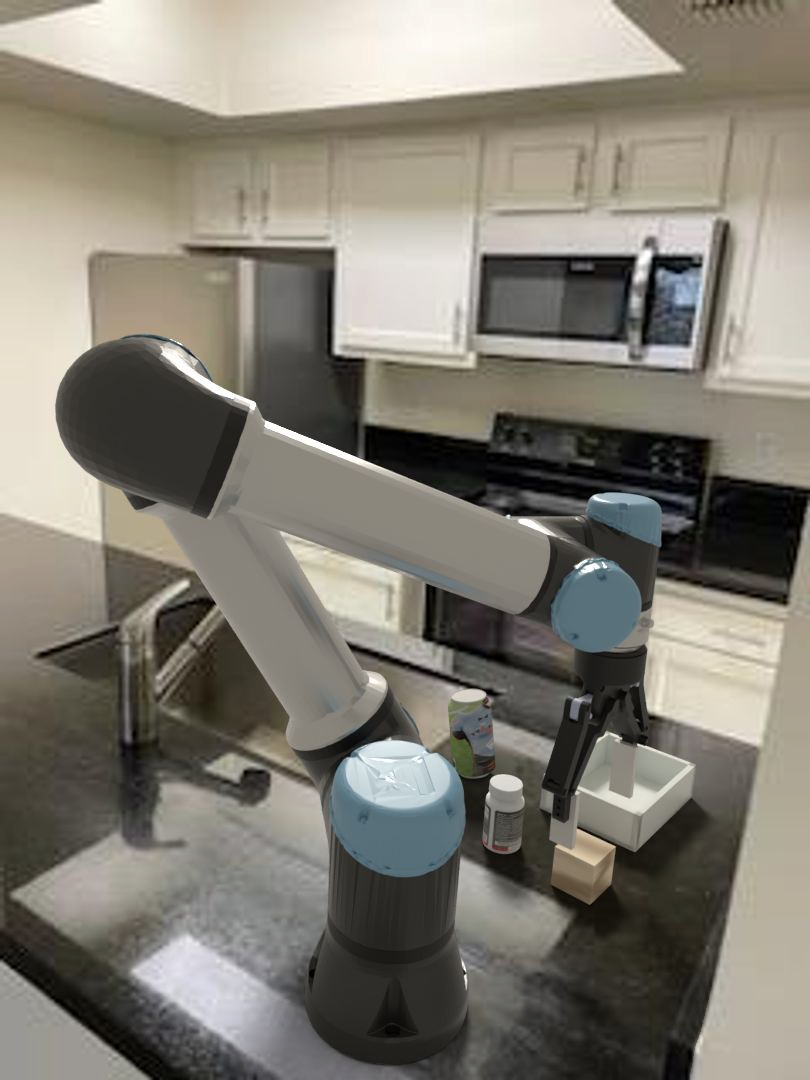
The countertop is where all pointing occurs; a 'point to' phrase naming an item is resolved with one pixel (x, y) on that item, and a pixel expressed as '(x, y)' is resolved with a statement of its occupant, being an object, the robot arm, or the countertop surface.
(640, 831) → the tote
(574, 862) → the cube
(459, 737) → the beverage can
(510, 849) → the pill bottle
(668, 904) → the countertop surface
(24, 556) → the countertop surface
